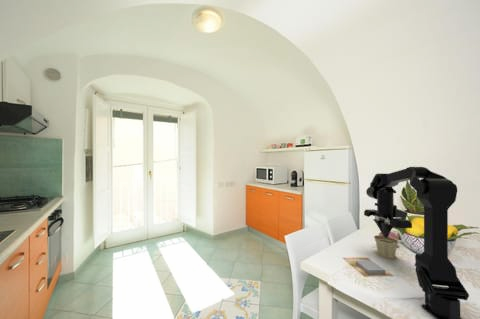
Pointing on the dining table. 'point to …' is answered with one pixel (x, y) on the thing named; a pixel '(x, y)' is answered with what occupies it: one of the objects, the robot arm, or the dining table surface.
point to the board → (353, 263)
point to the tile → (370, 267)
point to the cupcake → (391, 235)
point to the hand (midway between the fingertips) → (385, 237)
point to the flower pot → (386, 246)
